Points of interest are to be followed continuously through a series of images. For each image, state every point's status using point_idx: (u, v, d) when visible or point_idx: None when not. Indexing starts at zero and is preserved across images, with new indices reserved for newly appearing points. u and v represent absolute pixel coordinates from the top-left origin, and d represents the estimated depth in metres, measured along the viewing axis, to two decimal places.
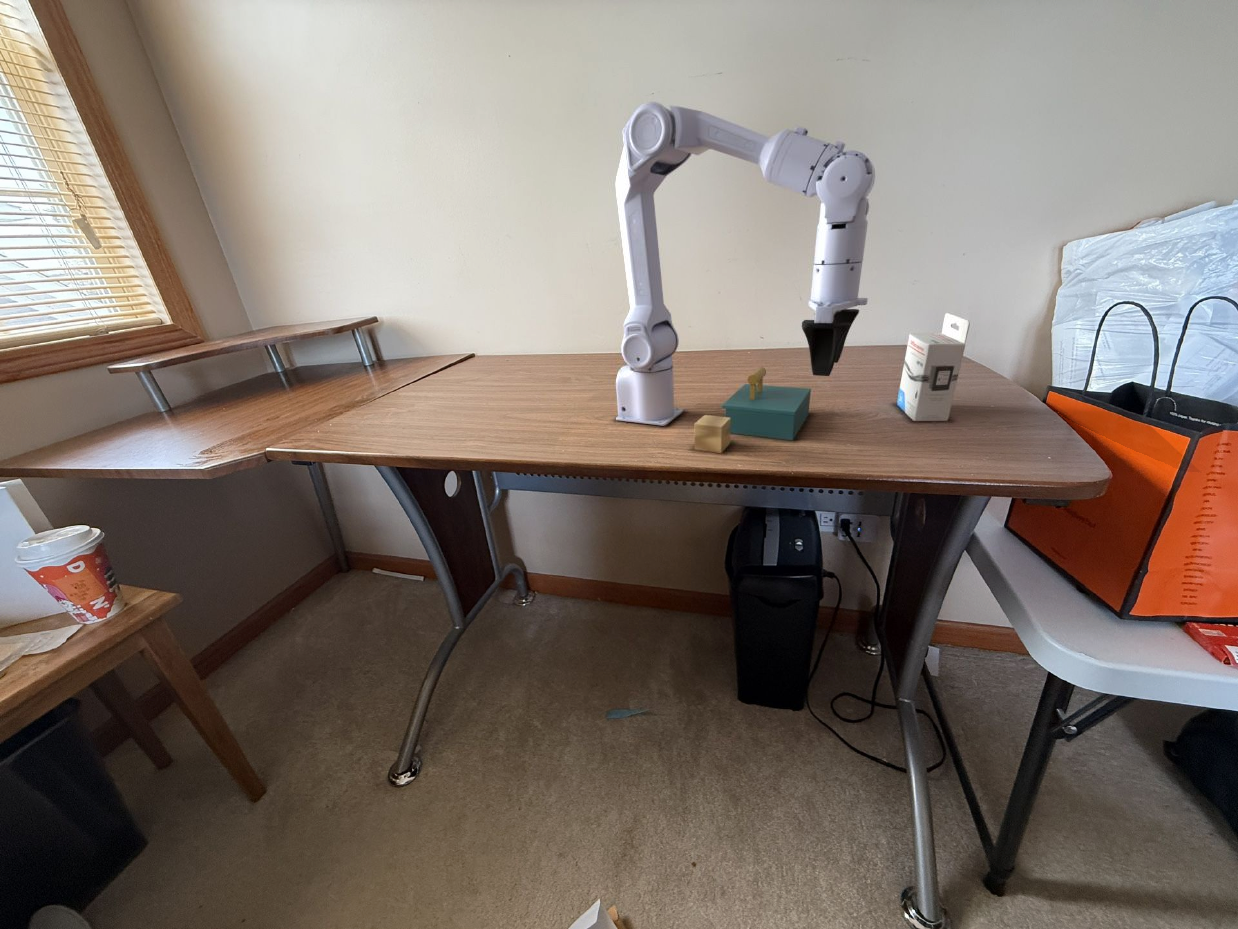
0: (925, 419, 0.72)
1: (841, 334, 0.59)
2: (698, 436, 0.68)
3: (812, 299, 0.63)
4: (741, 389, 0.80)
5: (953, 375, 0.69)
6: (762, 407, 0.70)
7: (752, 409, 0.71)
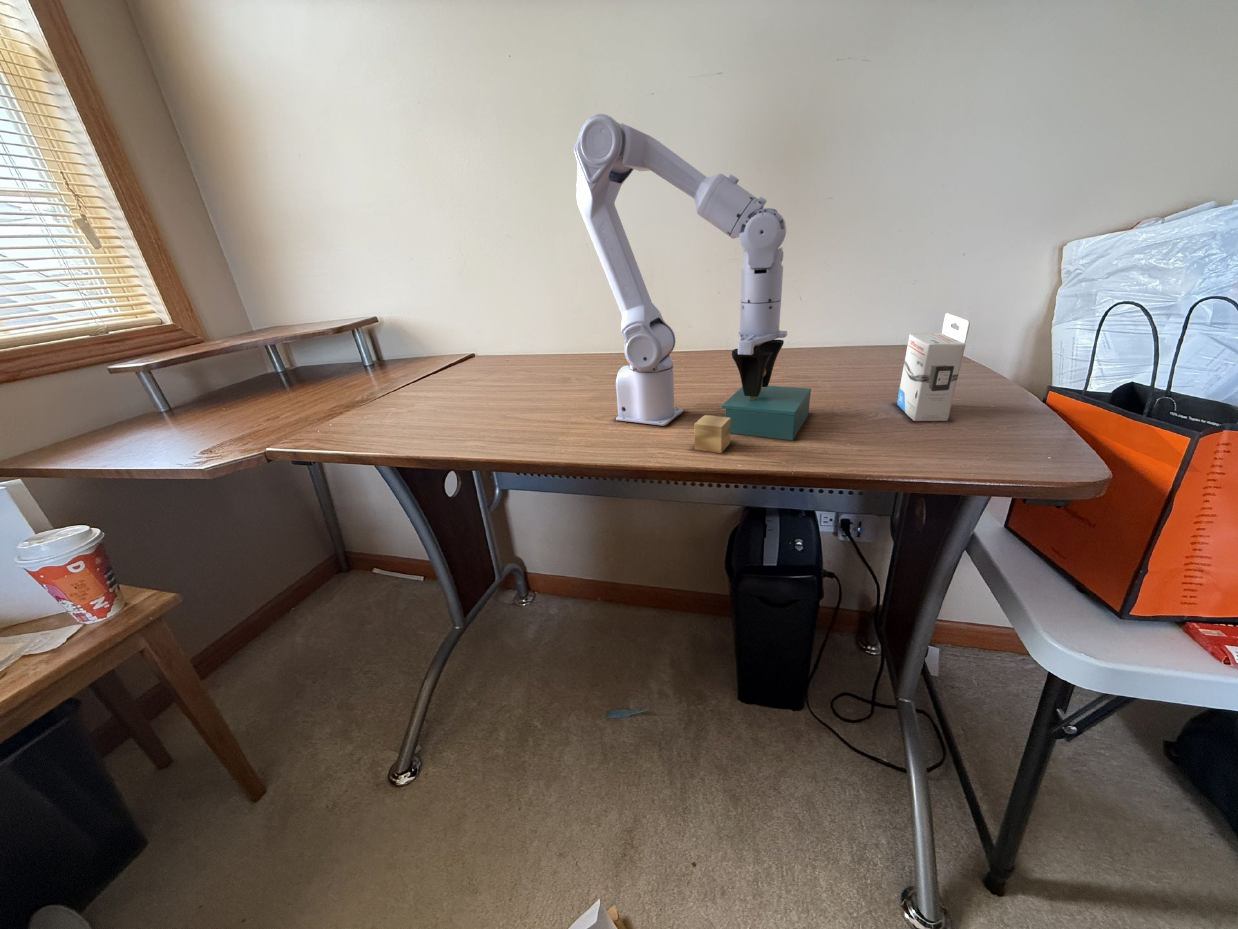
0: (925, 419, 0.72)
1: (763, 362, 0.69)
2: (698, 436, 0.68)
3: (740, 332, 0.72)
4: (741, 389, 0.80)
5: (953, 375, 0.69)
6: (762, 407, 0.70)
7: (752, 409, 0.71)
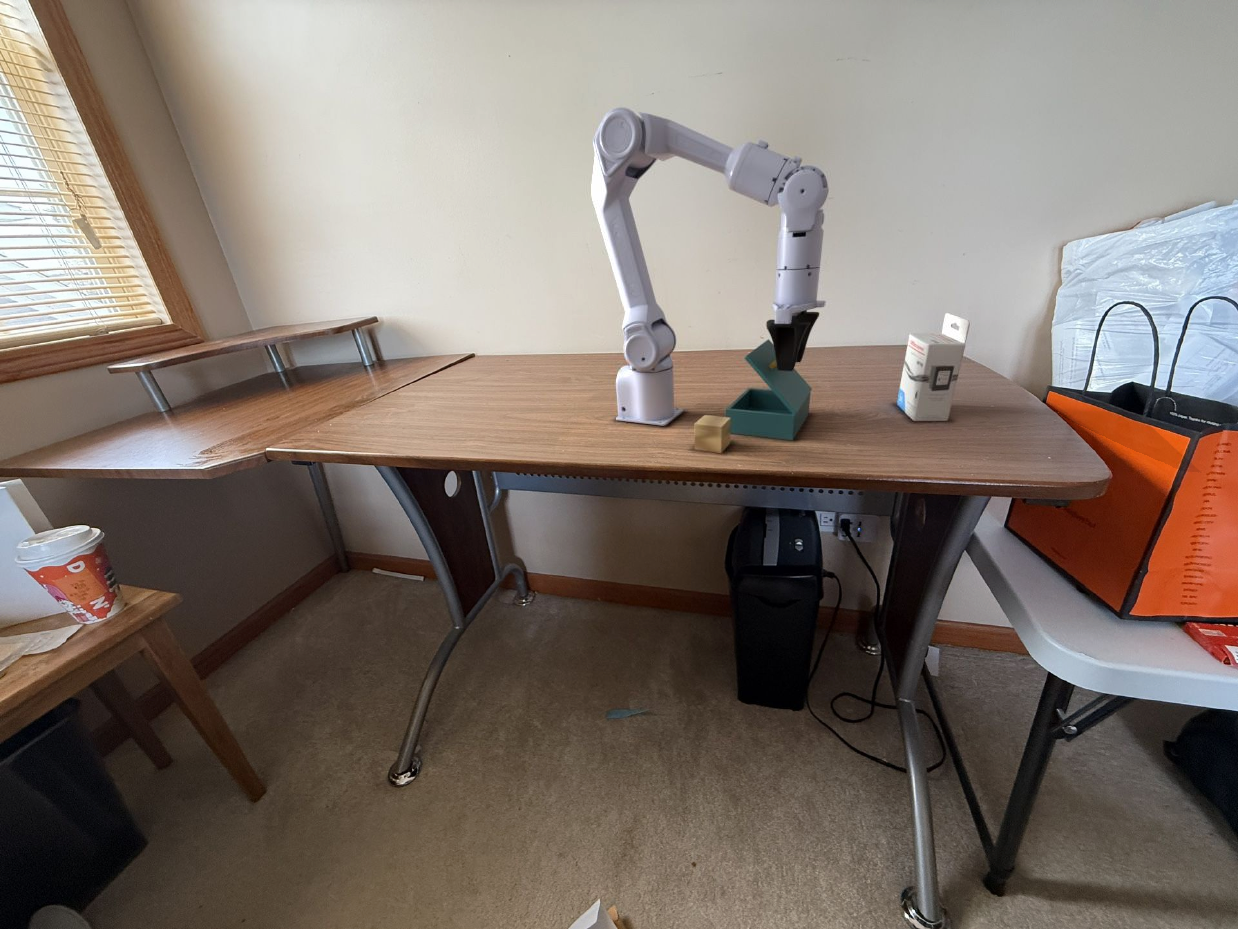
0: (925, 419, 0.72)
1: (801, 333, 0.65)
2: (698, 436, 0.68)
3: (775, 301, 0.68)
4: (764, 345, 0.75)
5: (953, 375, 0.69)
6: (775, 386, 0.68)
7: (767, 381, 0.68)
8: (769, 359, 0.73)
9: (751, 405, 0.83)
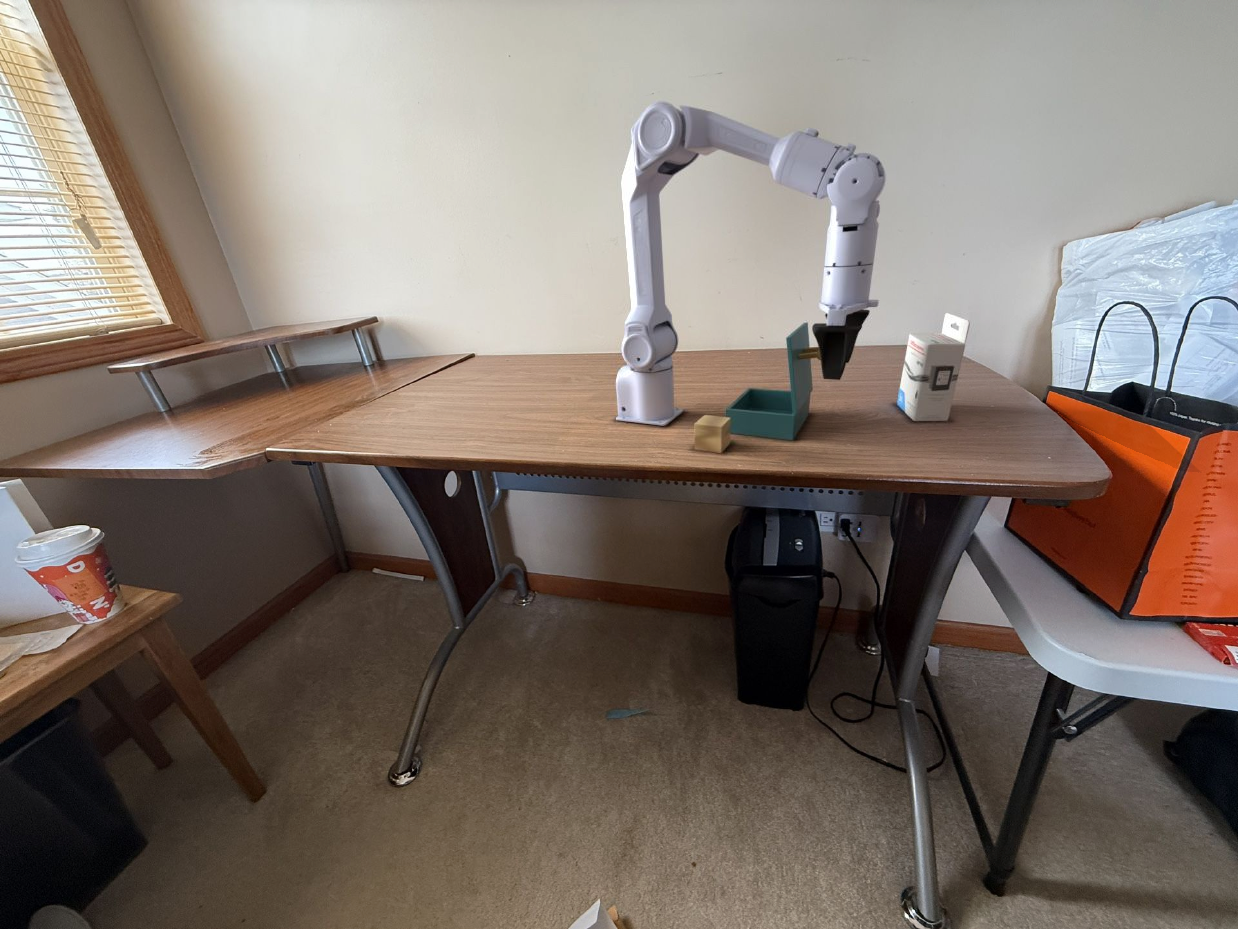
0: (925, 419, 0.72)
1: (852, 338, 0.58)
2: (698, 436, 0.68)
3: (823, 301, 0.63)
4: (803, 328, 0.71)
5: (953, 375, 0.69)
6: (795, 379, 0.67)
7: (791, 371, 0.66)
8: (801, 347, 0.70)
9: (751, 405, 0.83)
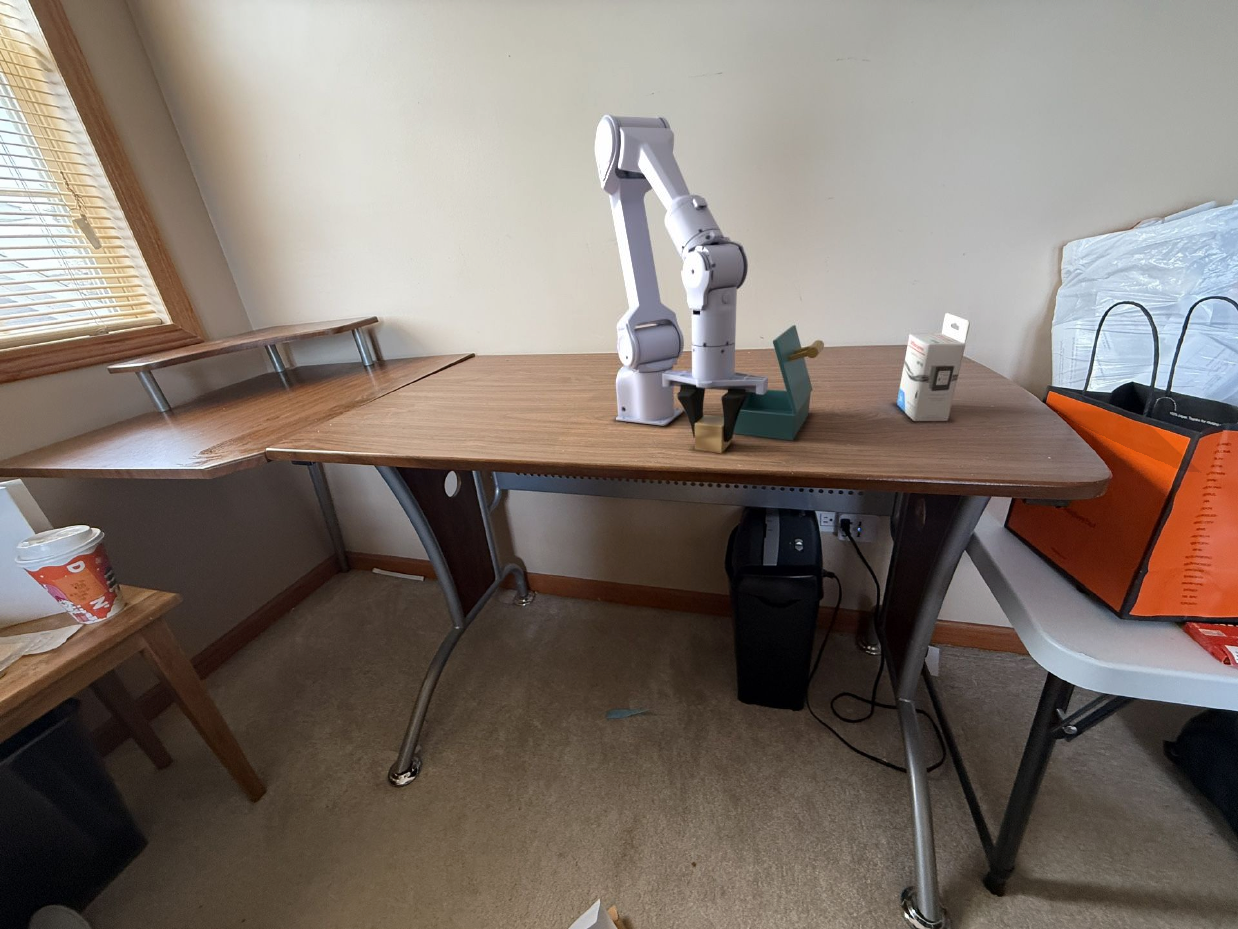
0: (925, 419, 0.72)
1: (680, 401, 0.67)
2: (698, 436, 0.68)
3: None
4: (791, 331, 0.72)
5: (953, 375, 0.69)
6: (789, 380, 0.67)
7: (783, 373, 0.66)
8: (791, 348, 0.70)
9: (751, 405, 0.83)
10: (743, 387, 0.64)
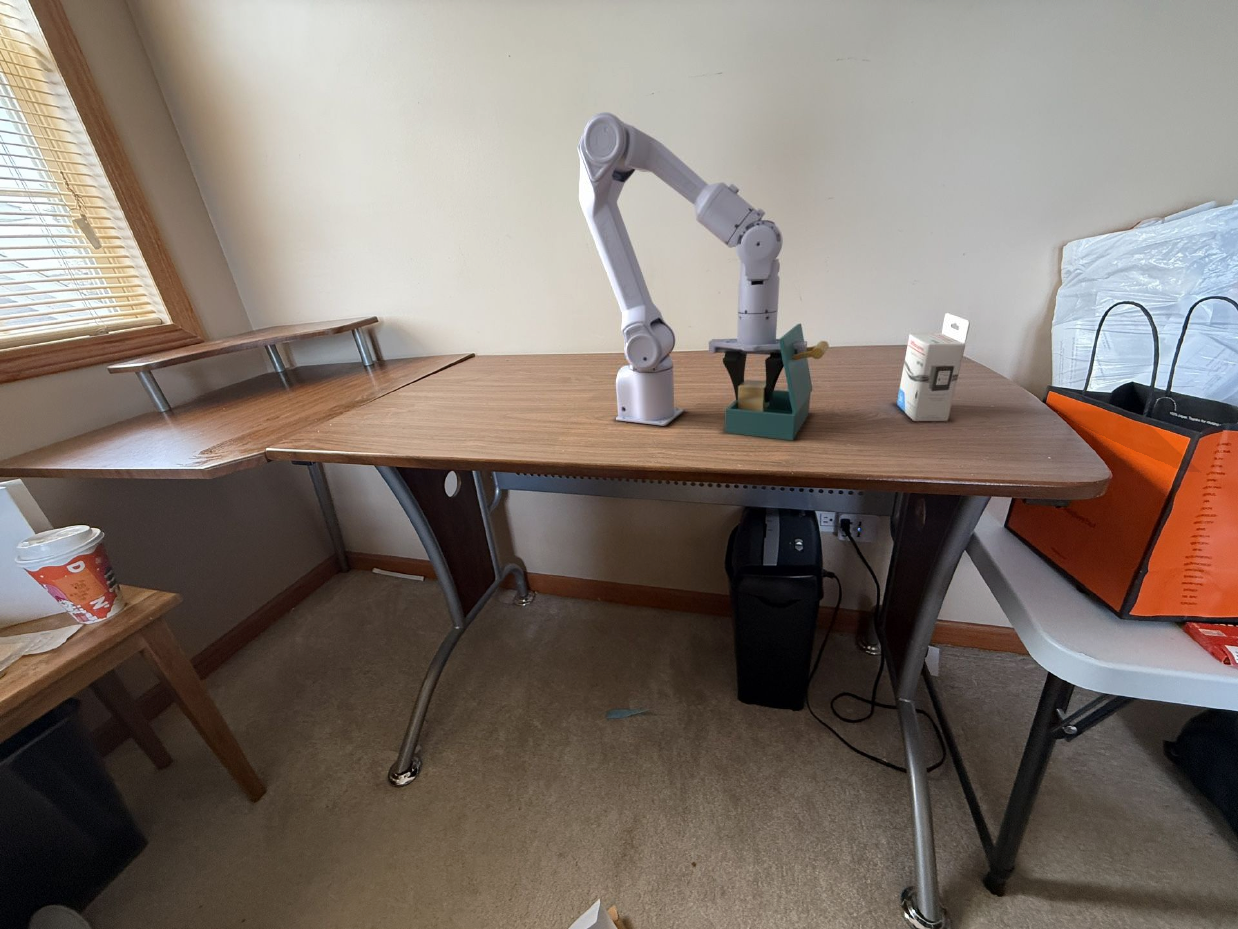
0: (925, 419, 0.72)
1: (725, 366, 0.74)
2: (741, 398, 0.75)
3: None
4: (797, 329, 0.72)
5: (953, 375, 0.69)
6: (791, 380, 0.67)
7: (787, 372, 0.66)
8: None
9: None
10: None
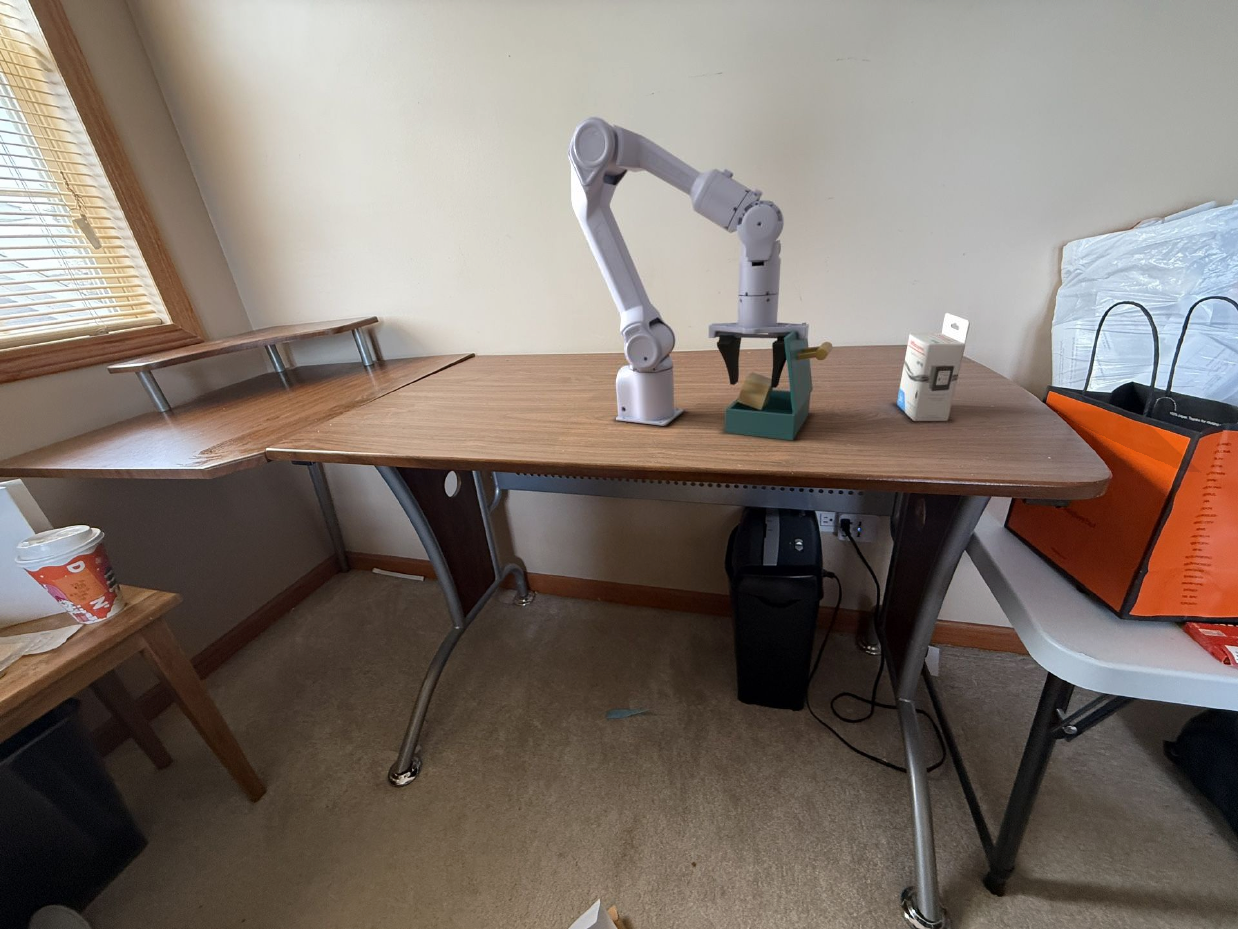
0: (925, 419, 0.72)
1: (719, 350, 0.74)
2: (744, 390, 0.74)
3: None
4: None
5: (953, 375, 0.69)
6: (794, 380, 0.67)
7: (790, 372, 0.66)
8: (799, 347, 0.70)
9: None
10: (785, 334, 0.70)
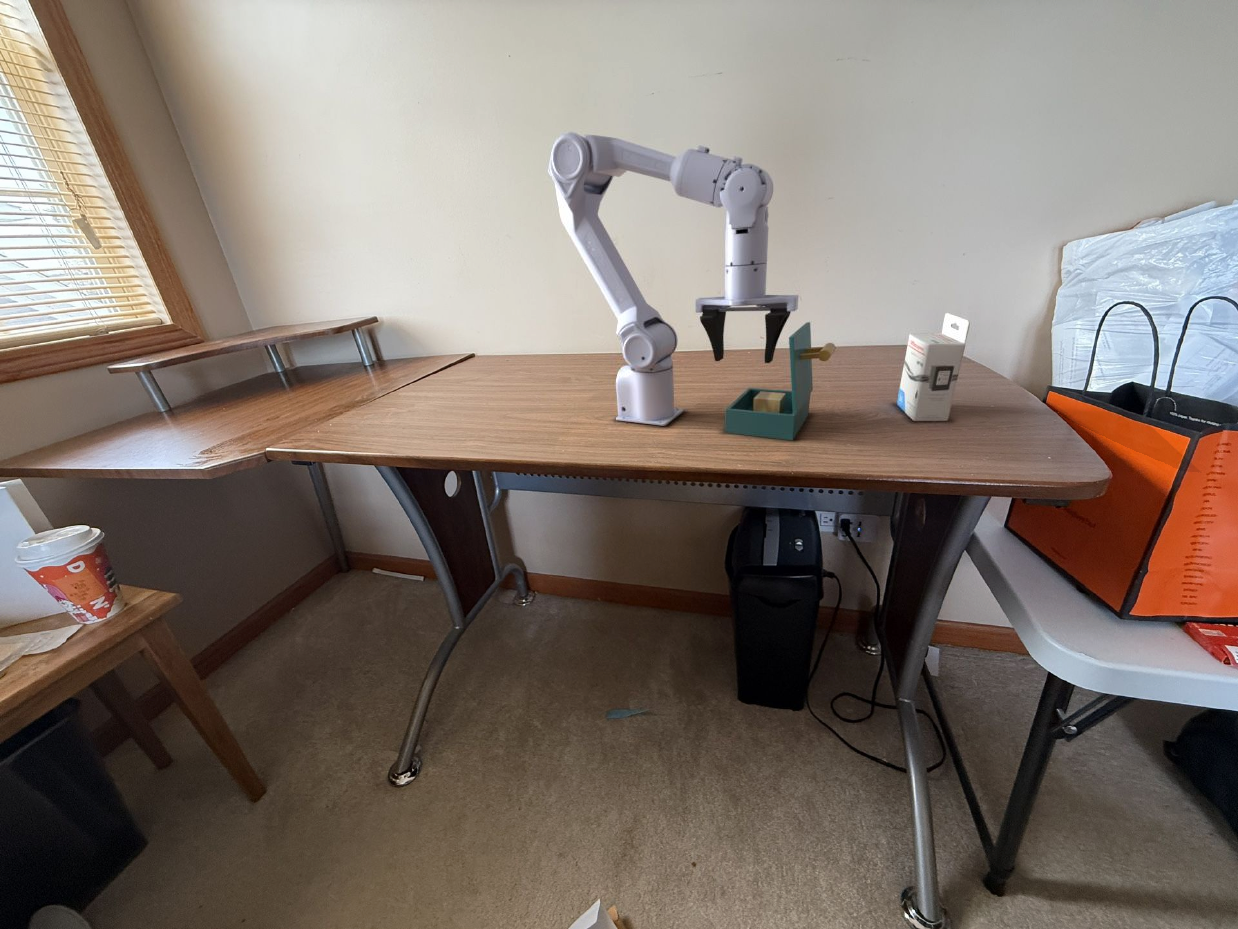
0: (925, 419, 0.72)
1: (702, 324, 0.72)
2: (767, 403, 0.73)
3: None
4: (806, 328, 0.71)
5: (953, 375, 0.69)
6: (796, 379, 0.66)
7: (793, 371, 0.66)
8: (803, 347, 0.69)
9: (751, 405, 0.83)
10: (774, 306, 0.67)
